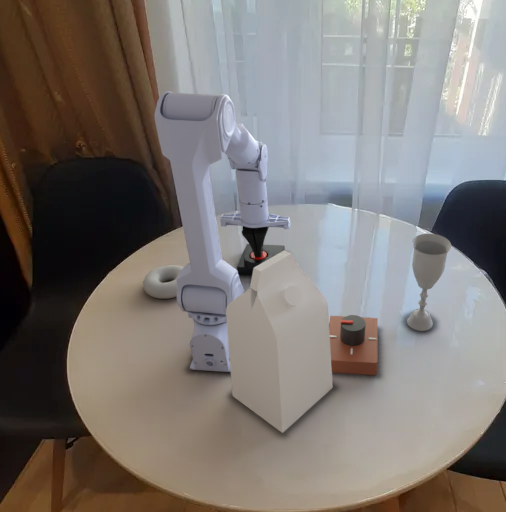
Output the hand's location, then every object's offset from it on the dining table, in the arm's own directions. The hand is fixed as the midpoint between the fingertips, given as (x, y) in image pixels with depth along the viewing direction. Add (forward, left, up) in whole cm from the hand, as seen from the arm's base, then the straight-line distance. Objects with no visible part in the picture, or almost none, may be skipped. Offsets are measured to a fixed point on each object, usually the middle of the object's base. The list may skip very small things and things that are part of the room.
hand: (258, 254), depth 108 cm
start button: (0, 0, -2) cm, 2 cm away
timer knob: (-25, -22, -1) cm, 33 cm away
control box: (+2, 0, -4) cm, 5 cm away
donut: (-9, +18, -4) cm, 20 cm away
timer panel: (-25, -22, -4) cm, 33 cm away
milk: (-36, -11, -4) cm, 37 cm away
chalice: (-16, -35, -4) cm, 39 cm away
